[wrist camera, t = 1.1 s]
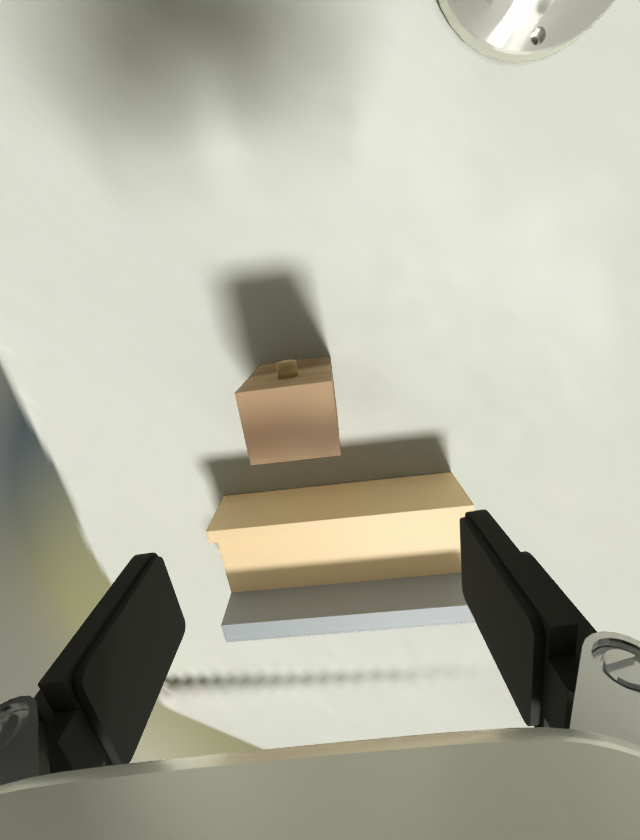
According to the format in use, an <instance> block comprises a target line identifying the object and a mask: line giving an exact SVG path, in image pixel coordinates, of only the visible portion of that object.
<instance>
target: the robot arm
mask: <svg viewBox="0 0 640 840" xmlns="http://www.w3.org/2000/svg"><path fill="white" fill-rule="evenodd" d="M438 1H439V4H440V7H441V9H442V11H443V13H444V15H445V16H446V18H447V20H448V22H449V24H450V25H451V27H452V28H453V29H454V31H455V32H456V33H457V34H458V35H459V36H460V38H461V39H462V40H463V41H464V42H465V43H466V44H467V45H469V46H470V47H472V48H473V49H474V50H476V51H477V52H478V53H480V54H482V55H485V56H487V57H490V58H492V59H494V60H497V61H505V62H512V63H519V62H527V61H535V60H538V59H541V58H543V57H546V56H549V55H552V54H554V53H556V52H558V51H559V50H561V49H563V48H565V47H566V46H568V45H570V44H571V43H573V42H574V41H575V40H576V39H578V38H579V37H580V36H581V35H582V34H584V33H585V32H586V31H587V30H588V29H589V28H591V27H592V26H593V25H594V23H595V22H596V21H597V20H598V19H599V18H600V17H601V16H602V15H603V14H604V13H605V12H606V11H607V10H608V9H609V8H610V7H611V5H612V4H613V3H614V1H615V0H438ZM532 42H533V43H534V44H533V43H532ZM460 548H461V575H462V591H463V595H464V598H465V601H466V603H467V605H468V607H469V609H470V611H471V613H472V615H473V617H474V620H475V622H476V624H477V626H478V628H479V630H480V632H481V634H482V636H483V638H484V640H485V642H486V644H487V646H488V648H489V650H490V652H491V654H492V656H493V659H494V661H495V663H496V665H497V667H498V669H499V671H500V673H501V675H502V677H503V679H504V681H505V683H506V685H507V687H508V689H509V691H510V693H511V695H512V698H513V700H514V702H515V704H516V706H517V708H518V710H519V712H520V714H521V716H522V718H523V720H524V722H525V723H526V724H527V725H528V726H534V727H535V728H503V729H489V730H475V731H461V732H447V733H435V734H424V735H413V736H402V737H391V738H380V739H369V740H358V741H347V742H337V743H326V744H316V745H306V746H296V747H285V748H275V749H265V750H255V751H245V752H235V753H226V754H215V755H206V756H196V757H186V758H178V759H167V760H158V761H148V762H139V763H129V762H130V761H131V759H132V757H133V755H134V753H135V750H136V748H137V745H138V743H139V741H140V738H141V736H142V733H143V731H144V729H145V726H146V724H147V721H148V719H149V717H150V714H151V712H152V710H153V707H154V705H155V702H156V700H157V698H158V695H159V693H160V690H161V688H162V686H163V683H164V681H165V678H166V676H167V674H168V671H169V669H170V666H171V664H172V662H173V659H174V657H175V655H176V652H177V650H178V647H179V645H180V643H181V640H182V638H183V635H184V632H185V620H184V617H183V614H182V611H181V608H180V605H179V603H178V600H177V597H176V594H175V591H174V589H173V586H172V583H171V580H170V577H169V575H168V572H167V569H166V566H165V563H164V560H163V558H162V557H158V555H157V554H156V553H147V554H139V555H135V556H134V557H133V558H132V559H131V560H130V562H129V563H128V564H127V566H126V567H125V568H124V570H123V571H122V572H121V574H120V575H119V576H118V578H117V579H116V580H115V582H114V583H113V584H112V586H111V587H110V588H109V590H108V591H107V592H106V594H105V595H104V596H103V598H102V599H101V601H100V602H99V603H98V604H97V606H96V607H95V608H94V610H93V611H92V612H91V614H90V615H89V617H88V618H87V619H86V620H85V622H84V623H83V624H82V626H81V627H80V628H79V630H78V631H77V633H76V634H75V635H74V636H73V638H72V639H71V640H70V642H69V643H68V644H67V646H66V647H65V649H64V650H63V651H62V653H61V654H60V655H59V657H58V658H57V659H56V661H55V662H54V663H53V664H52V666H51V667H50V669H49V670H48V671H47V672H46V674H45V675H44V676H43V678H42V679H41V680H40V682H39V683H38V686H39V688H40V690H39V692H38V693H37V695H36V696H35V697H34V698H33V697H31V696H19V697H16V698H12V699H10V700H8V701H6V702H4V703H2V704H0V840H640V641H638V640H636V639H633V638H631V637H629V636H626V635H622V634H619V633H615V632H597V631H596V630H595V629H594V628H593V627H592V626H591V624H590V623H589V622H588V621H587V620H586V618H585V617H584V616H583V615H582V614H581V612H580V611H579V610H578V609H577V608H576V607H575V605H574V604H573V603H572V602H571V601H570V599H569V598H568V597H567V596H566V595H565V594H564V592H563V591H562V590H561V589H560V588H559V586H558V585H557V584H556V583H555V582H554V580H553V579H552V578H551V577H550V576H549V575H548V573H547V572H546V571H545V570H544V569H543V567H542V566H541V565H540V564H539V563H538V562H537V560H536V559H535V558H534V557H533V556H532V555H531V554H530V553H528V552H526V551H525V552H520V551H519V549H518V548H517V547H516V546H515V544H514V543H513V542H512V541H511V540H510V538H509V537H508V536H507V535H506V533H505V532H504V531H503V530H502V528H501V527H500V526H499V525H498V523H497V522H496V521H495V520H494V518H493V517H492V516H491V515H490V514H489V512H488V511H487V510H477V511H470V512H466V513H465V517H462V518H460Z"/></svg>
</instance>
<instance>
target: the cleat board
mask: <svg viewBox="0 0 640 840" xmlns="http://www.w3.org/2000/svg"><path fill="white" fill-rule="evenodd" d="M470 511H474V504H473V503H472V501H471V500H470V498H469V497H468V496H467V494H466V493H465V491H464V490H463V488H462V487H461V485H460V484H459V483H458V481H457V480H456V478H455V477H454V475H453V474H452V472H446V473H437V474H427V475H418V476H408V477H399V478H389V479H380V480H370V481H361V482H351V483H342V484H332V485H323V486H313V487H304V488H294V489H285V490H275V491H266V492H257V493H247V494H238V495H228V496H224V497H223V499H222V501H221V503H220V505H219V507H218V509H217V511H216V513H215V515H214V517H213V519H212V521H211V523H210V525H209V527H208V529H207V531H206V534H207V537H208V541H209V543H218V546H219V550H220V553H221V557H222V560H223V564H224V568H225V571H226V575H227V578H228V582H229V585H230V589H231V596H230V599H229V602H228V605H227V609H226V612H225V615H224V618H223V621H222V624H221V627H222V630H223V633H224V636H225V640H226V642H235V641H247V640H260V639H273V638H285V637H298V636H310V635H323V634H336V633H348V632H361V631H374V630H386V629H399V628H411V627H424V626H437V625H449V624H462V623H475V620H474V617H473V615H472V613H471V611H470V609H469V607H468V605H467V603H466V601H465V598H464V595H463V591H462V575H461V548H460V518H462V517H465V513H466V512H470Z"/></svg>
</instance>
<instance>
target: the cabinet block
mask: <svg viewBox="0 0 640 840" xmlns="http://www.w3.org/2000/svg"><path fill="white" fill-rule="evenodd" d="M235 396H236V401H237V405H238V410H239V414H240V419H241V423H242V428H243V432H244V437H245V442H246V446H247V451H248V455H249V460H250V464H251V465H259V464H268V463H277V462H286V461H295V460H304V459H313V458H322V457H331V456H340V455H341V451H340V440H339V428H338V417H337V407H336V399H335V391H334V382H333V374H332V366H331V358H330V356H325V357H317V358H309V359H301V360H293V359H291V360H283V361H279V362H276V363H270V364H262V365H260V366H259V367H258V368H257V369H256V370H255V371H254V373H253V374H252V375H251V376H250V377H249V378H248V379H247V380H246V381H245V382H244V384H243V385H242V386H241V387H240V388H239V389H238V390H237V391H236V392H235Z"/></svg>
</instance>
